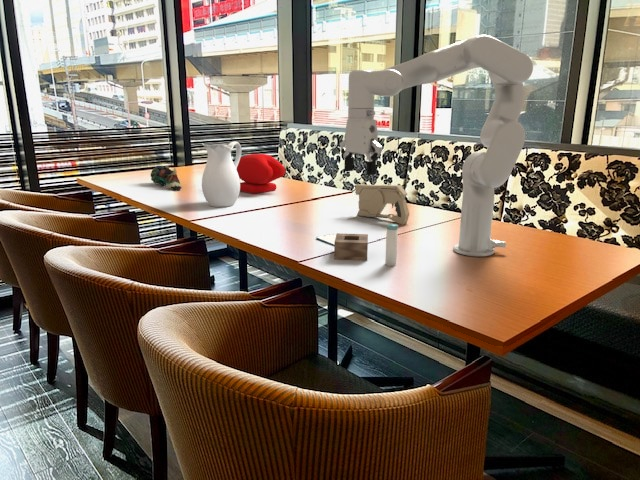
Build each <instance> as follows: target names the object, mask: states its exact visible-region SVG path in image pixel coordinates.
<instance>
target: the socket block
mask: <svg viewBox="0 0 640 480" xmlns="http://www.w3.org/2000/svg"><path fill="white" fill-rule="evenodd" d="M335 235H336V238H335V245H334V246H333V247H334V253H333V254H334V255H333V256H334V260H344V261H345V260H349V261H368V248H369V245H368V243H369V242H368V241H369V238H368V237H369V234H368V233H367V234H366V233H336V234H335Z"/></svg>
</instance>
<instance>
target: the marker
mask: <svg viewBox="0 0 640 480" xmlns="http://www.w3.org/2000/svg"><path fill="white" fill-rule="evenodd" d="M398 231H399V224H398V223H397V224H396V223H387V224H386V235H385V236H386V240H385V259H384V260H385V266H387V267H388V266H389V267H394V266H397V253H398V234H399V233H398Z"/></svg>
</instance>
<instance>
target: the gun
mask: <svg viewBox="0 0 640 480" xmlns="http://www.w3.org/2000/svg"><path fill="white" fill-rule="evenodd" d="M354 190H355V195H357V196H358V211H357V213H356V216H358V217H364V218H365V217H366V218H375V219H378V218H380V219H387V220H391V221H392V222H393V223H397V224H398V225H403V226H404V225H406V224H407V223H408V220H409V217H410V211H409V206H408V204H407V200H406V197H407V196H408V192H407V191H406V190H405V188H404V187H403V186H402V185H400V184H364V183H363V184H355V189H354ZM389 204H390V205H391V209H393V208H394V207H395V210H394V211H395V212H396V214H393V213H390V214H386V213H382V212H383V211H384V209H385V208H386V206H387V205H389Z"/></svg>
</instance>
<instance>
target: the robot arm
mask: <svg viewBox="0 0 640 480" xmlns="http://www.w3.org/2000/svg"><path fill="white" fill-rule="evenodd" d="M476 68H477V69H478V68H482V69H483V70H485V71H487V73H488V77H489V80H490V81H491V83H492V85H493V87H494V93H495V94H494V100H493V102H492V106H491V107H490V111H489V113H488V115H487V117H486V120H485V122H484V124H483V126H482V129H481V131H480V134H479V135H480V136H479V138H480V139H479V140H480V142H481V144H482V146H484V147H485V148H487V149H486V151H475V152H472V153H471V154H468V156H467V157H466V158H465V160H464V161H463V164H462V169H461V173H462V175H461V176H462V199H461V212H460V225H459V235H458V236H459V237H458V243H456V244H454V245H453V248H452V249H453V251H454V253H457V254H458V255H459V254H460V255H462V256H468V257H489V256H492V255H494V253H495V248H500V249H501V248H503V249H505V248H506V245H507V244H506V241H500V240H498V239H492V237H491V235H492V227H493V226H492V223H493V216H494V205H495V188H499V187H501V186H503V184H505V183H506V181H508V179H509V177H510V175H511V173H512V171H513V169H514V167H515V165H516V163H517V160H518V159H519V156H520V155H521V152H522V149H524V148H523V147H524V145H525V140H526V131H525V127H524V126H523V125H522V123H521V122H519V121H518V120H519V118H520V115H521V113H522V110H523V108H524V105H525V101H526V97H525V95H526V93H525V88H524V83H526V82H527V81H528V80H529V79H530V78H531V76H532V74H533V70H534V64H533V61H532V59H531V57H530V56H529V55H527V53H525V52H524V51H521V50H519V49H518V48H515V47H514V46H512V45H509V44H507V43H506V42H504V41H501V40H499V39H497V38H496V37H493V36H491V35H487V34H479V35H476V36H471V37H469V38H466V39H465V38H464V39H462V40H460V41H458V42H457V41H456V42H455V43H451V44H449V45H446V46H443V47H440V48H437V49H435V50H431V51H428V52H426V53H423V54H421V55H419V56H417V57H414V58H412V59H410V60H408V61H405V62H401V63H399V64H397V65H393V66H390V67H387V68H384V69H381V70H370V69H369V70H368V69H355V70H351V71H350V72H349V73H348V90H347V91H348V95H347V96H348V97H347V100H348V101H347V102H348V103H347V109H348V110H347V120H346V124H345V125H346V126H345V132H344V133H345V135H344V139H343V140H341V141H340V142H339V147H340V151H341V154H342V157H343V159H344V163H343V166H344V168H343V169H344V172H346V173H348V172H354V159H355V158H354V157H353V156H354V154H357V155H365V157H366V159H367V160H368V161H366V175H367V176H375V175H376V171H377V162H378V161H379V158H380V157H381V154H382V151H383V147H384V146H382V145H381V144H380V143H379V141H378V140H379V138H378V137H379V136H378V127H377V120H376V119H375V116H376V111H375V96H379V97H389V98H390V97H394V96H396V95H398V94H399V93H400V92H401V91H402V90H405V89H409V88H413V87H416V86H419V85H427V84H432V83H435V82H439V81H442V80H445V79H448V78H451V77H454V76H456V75H459V74H461V73H465V72H468V71H470V70H473V69H476Z"/></svg>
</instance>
